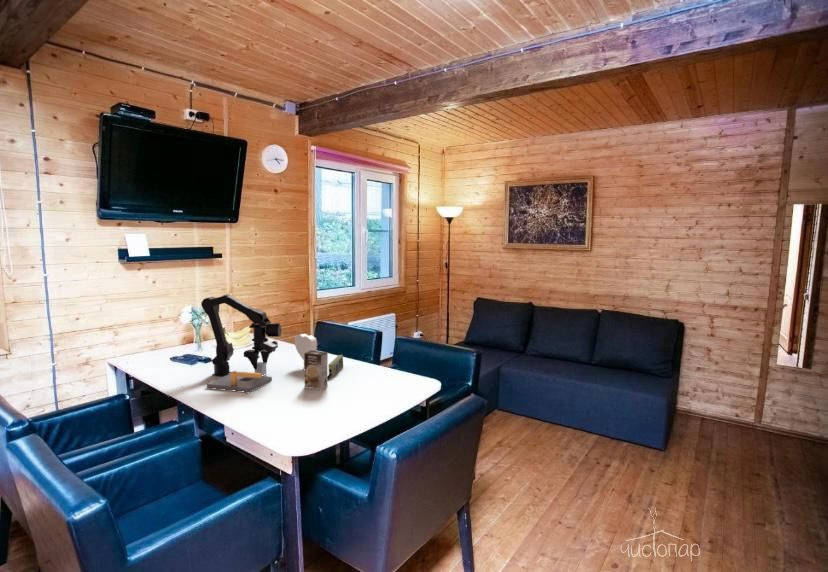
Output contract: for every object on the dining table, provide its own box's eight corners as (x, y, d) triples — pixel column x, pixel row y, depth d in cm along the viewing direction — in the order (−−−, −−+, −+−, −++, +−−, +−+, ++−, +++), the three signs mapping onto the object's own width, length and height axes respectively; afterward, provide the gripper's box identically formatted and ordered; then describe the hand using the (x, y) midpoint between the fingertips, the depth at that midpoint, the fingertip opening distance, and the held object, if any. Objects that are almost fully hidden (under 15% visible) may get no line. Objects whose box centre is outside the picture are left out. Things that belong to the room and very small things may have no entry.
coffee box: (303, 387, 205) (303, 353, 203) (311, 383, 211) (310, 349, 209) (321, 389, 202) (320, 354, 200) (328, 385, 208) (328, 351, 206)
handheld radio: (344, 366, 240) (331, 380, 216) (338, 366, 241) (324, 380, 216) (343, 354, 240) (330, 367, 215) (337, 354, 240) (323, 367, 215)
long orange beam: (232, 383, 202) (232, 371, 201) (262, 385, 200) (262, 372, 199) (229, 385, 199) (229, 372, 199) (259, 386, 197) (259, 374, 197)
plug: (254, 375, 222) (254, 364, 221) (259, 373, 225) (259, 362, 225) (261, 376, 221) (261, 364, 220) (266, 374, 224) (266, 362, 224)
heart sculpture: (318, 370, 232) (318, 336, 230) (310, 372, 228) (310, 338, 226) (301, 364, 242) (301, 332, 241) (293, 366, 239) (293, 333, 237)
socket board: (206, 388, 202) (206, 383, 202) (232, 376, 219) (232, 372, 219) (248, 392, 196) (248, 388, 196) (271, 380, 213) (271, 376, 213)
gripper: (262, 341, 210) (263, 373, 212) (284, 333, 228) (284, 363, 230) (242, 339, 213) (243, 371, 215) (265, 332, 231) (265, 361, 232)
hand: (260, 367), depth 223 cm, fingers open, 8 cm apart
